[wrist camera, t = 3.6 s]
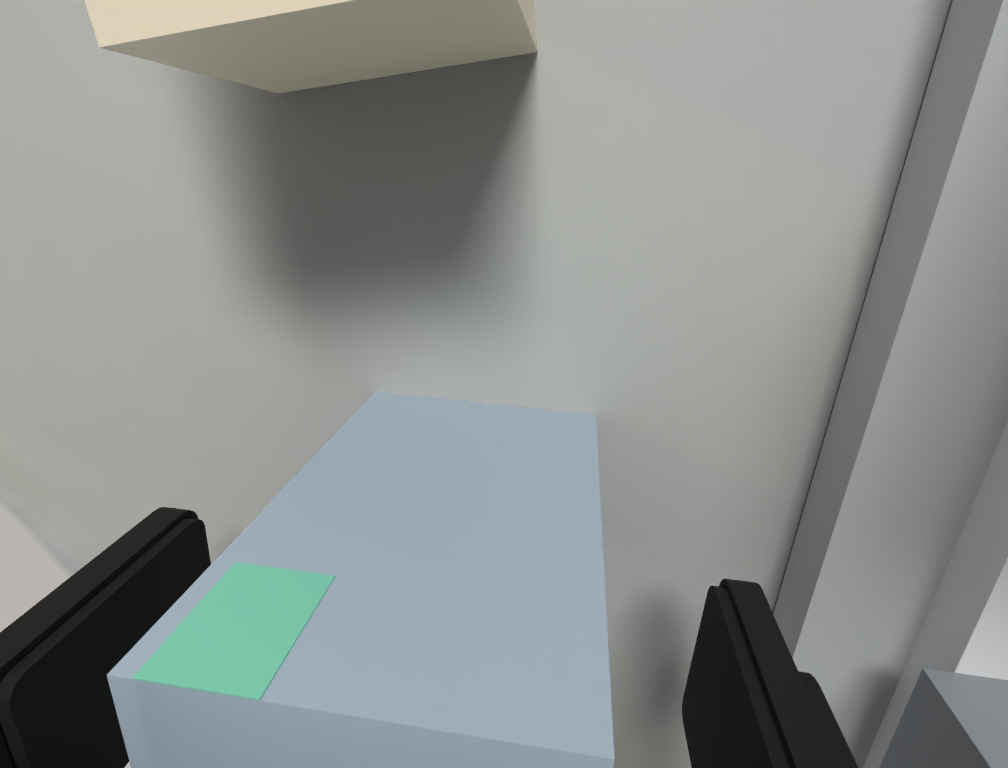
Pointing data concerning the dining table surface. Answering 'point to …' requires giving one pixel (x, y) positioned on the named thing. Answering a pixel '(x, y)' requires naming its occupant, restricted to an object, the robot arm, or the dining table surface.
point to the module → (396, 607)
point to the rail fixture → (922, 448)
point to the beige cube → (313, 36)
